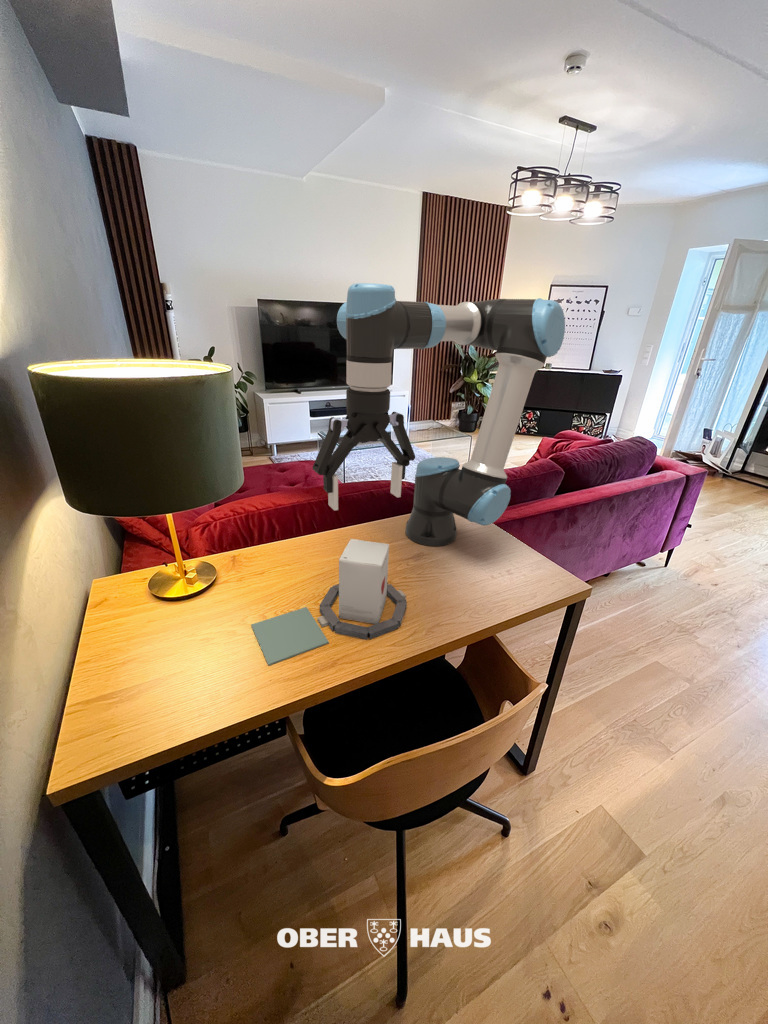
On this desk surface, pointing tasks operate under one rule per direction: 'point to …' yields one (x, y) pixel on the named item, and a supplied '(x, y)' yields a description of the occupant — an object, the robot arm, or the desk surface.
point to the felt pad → (288, 635)
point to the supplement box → (363, 581)
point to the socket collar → (357, 630)
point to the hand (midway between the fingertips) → (365, 501)
